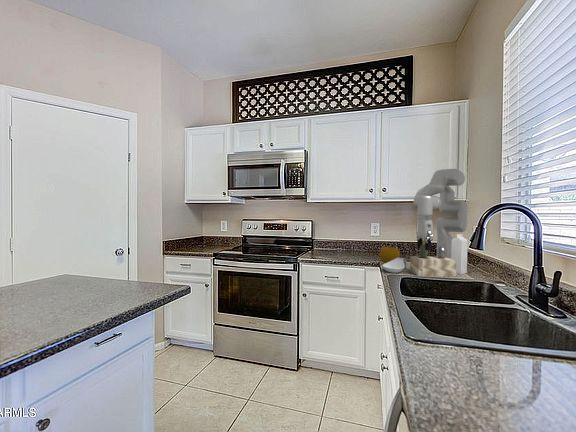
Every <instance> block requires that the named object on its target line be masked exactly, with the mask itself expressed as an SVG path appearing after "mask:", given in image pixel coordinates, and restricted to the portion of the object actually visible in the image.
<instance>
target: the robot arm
mask: <svg viewBox="0 0 576 432" xmlns="http://www.w3.org/2000/svg"><path fill="white" fill-rule="evenodd" d="M465 176H466V175H465V173H464V172H463V171H462V170H459V169H457V168H446V169H438V170H437V169H436V171H435V172H434V173H433V175H432V177H431V179H430V181H429V183H428V184H426V185H425V186H422V187H421V188H420V189H418V191H417V192H416V193H415V195H414V198H413V204H412V205H413V206H414V208H415V209H416V210H417V214H416V215H417V219H416V220H417V226H416V227H417V228H416V229H417V231H416V240H417V243H416V246H417V247H416V248H417V249H420V246H421V245H423V240H424V239H425V241H426V243H425V250H428V251H432V246H433V245H432V243H433V239H434V225H433V224H434V223H433V210H437V209H439V213H440V214H442V215H445V216H440V217H438V218H436V221H435V226H436V257H438V247H446V257H448V258H451V243H452V239H454V236H453V234H451V233H450V232H452V233H465V232H466V230H467V227H468V225H467V224H468V204H467V202H466V200H464V199H455V191H454V189H453V188H452V186H453V187H454V186H455V187H457V186H462V185H463V184H464V183H465V181H466V177H465ZM438 194H439V195H438ZM447 215H448V216H447ZM449 215H451V216H449Z"/></svg>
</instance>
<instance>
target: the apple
mask: <svg viewBox="0 0 576 432" xmlns="http://www.w3.org/2000/svg"><path fill="white" fill-rule="evenodd" d="M378 255H379V258H380V260H381V262H382V264H385V263H387V262H390V261H392V260H394V259H396V258H398V257H399V258H401V251H400V250H399V249H398V248H397V247H394V246H383V247H381V248H380V249H379V254H378Z"/></svg>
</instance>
